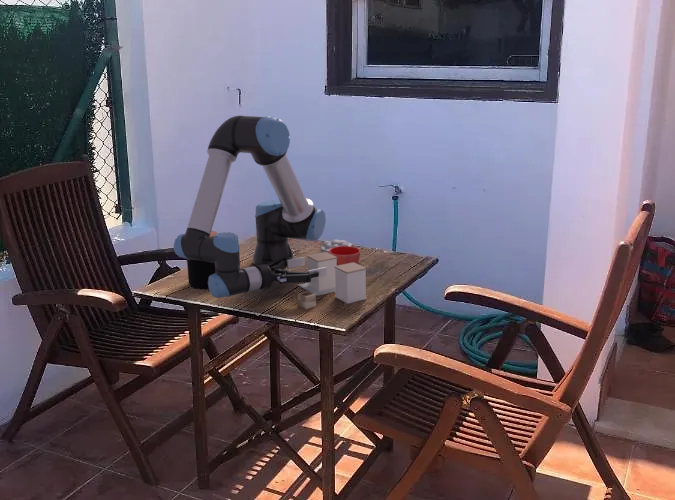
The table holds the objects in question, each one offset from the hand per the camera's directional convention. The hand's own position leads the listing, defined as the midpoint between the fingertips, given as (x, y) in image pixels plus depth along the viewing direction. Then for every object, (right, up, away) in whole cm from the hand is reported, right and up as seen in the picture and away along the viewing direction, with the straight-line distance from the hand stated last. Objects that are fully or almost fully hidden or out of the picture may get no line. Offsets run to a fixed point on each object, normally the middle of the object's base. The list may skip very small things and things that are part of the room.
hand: (314, 265), depth 240 cm
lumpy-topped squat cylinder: (+7, 0, +28) cm, 29 cm away
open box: (-2, -12, -12) cm, 17 cm away
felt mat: (+3, -7, +4) cm, 9 cm away
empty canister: (+12, -10, -6) cm, 17 cm away
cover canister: (+2, -7, +4) cm, 8 cm away
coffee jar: (-38, -7, +8) cm, 39 cm away
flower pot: (+10, -4, +14) cm, 18 cm away
